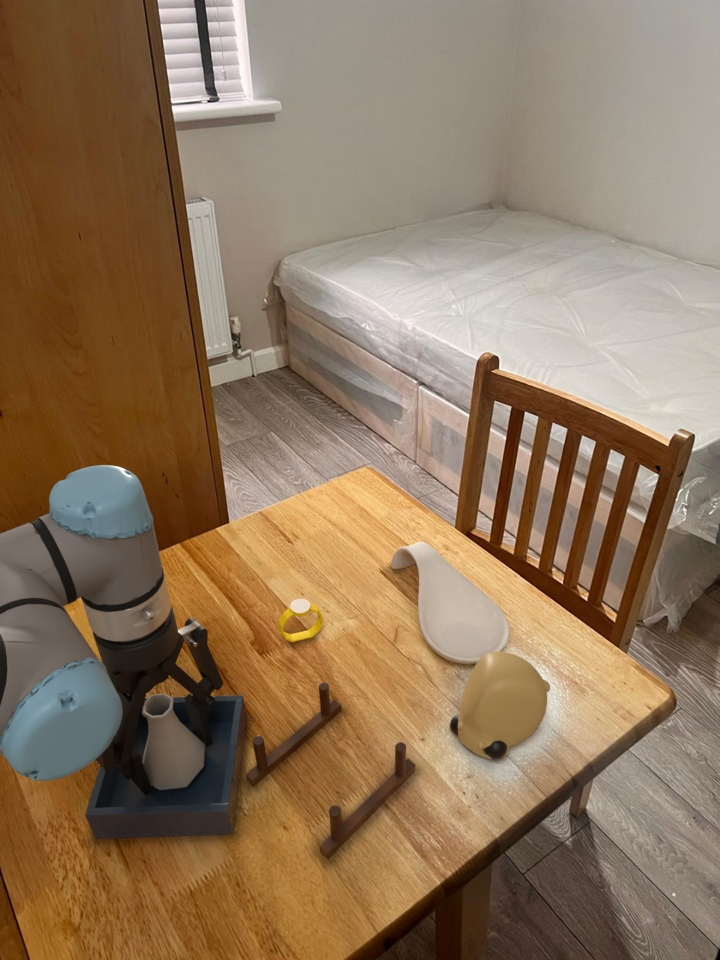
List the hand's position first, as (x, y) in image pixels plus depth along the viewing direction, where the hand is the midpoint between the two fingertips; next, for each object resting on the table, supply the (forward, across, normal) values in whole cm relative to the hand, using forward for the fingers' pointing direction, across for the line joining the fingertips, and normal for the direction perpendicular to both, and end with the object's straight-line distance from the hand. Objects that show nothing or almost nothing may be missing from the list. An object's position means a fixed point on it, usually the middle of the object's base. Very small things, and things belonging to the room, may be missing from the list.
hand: (173, 761), depth 82 cm
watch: (+3, +24, +5) cm, 25 cm away
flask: (0, 0, 0) cm, 0 cm away
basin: (+3, 0, 0) cm, 3 cm away
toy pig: (+3, +30, -23) cm, 38 cm away
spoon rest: (+3, +40, -6) cm, 41 cm away
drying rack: (+3, +12, -13) cm, 18 cm away
